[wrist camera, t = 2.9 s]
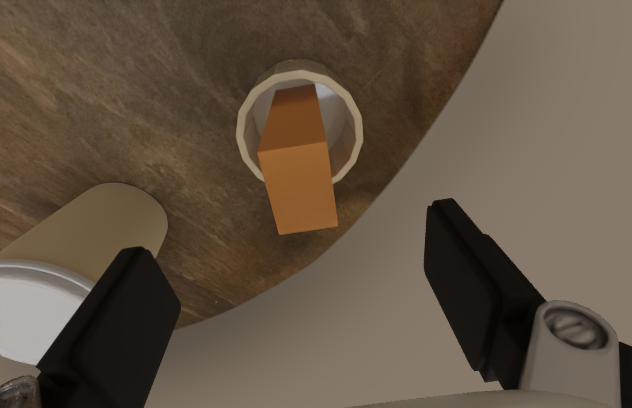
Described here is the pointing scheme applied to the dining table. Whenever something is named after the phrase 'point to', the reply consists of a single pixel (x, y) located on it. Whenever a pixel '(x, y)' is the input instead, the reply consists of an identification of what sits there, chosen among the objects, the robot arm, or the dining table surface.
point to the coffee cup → (69, 263)
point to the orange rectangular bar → (297, 162)
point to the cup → (334, 106)
